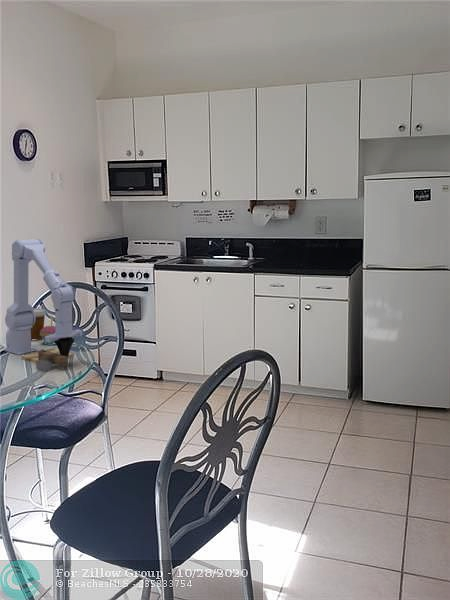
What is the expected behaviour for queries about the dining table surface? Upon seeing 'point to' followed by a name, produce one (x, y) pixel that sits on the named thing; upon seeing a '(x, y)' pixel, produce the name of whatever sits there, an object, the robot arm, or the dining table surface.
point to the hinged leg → (53, 357)
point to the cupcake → (48, 331)
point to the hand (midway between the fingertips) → (64, 358)
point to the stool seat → (34, 356)
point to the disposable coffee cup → (38, 323)
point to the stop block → (44, 365)
